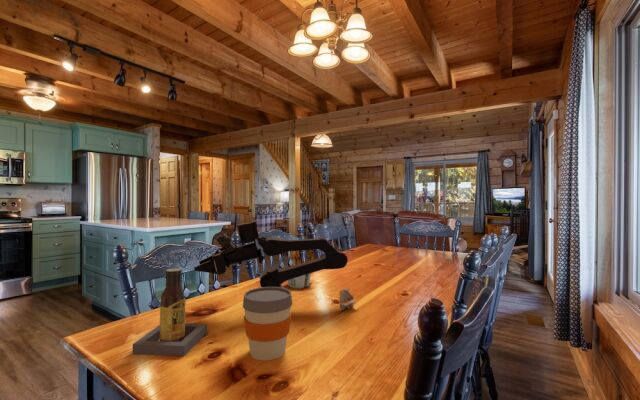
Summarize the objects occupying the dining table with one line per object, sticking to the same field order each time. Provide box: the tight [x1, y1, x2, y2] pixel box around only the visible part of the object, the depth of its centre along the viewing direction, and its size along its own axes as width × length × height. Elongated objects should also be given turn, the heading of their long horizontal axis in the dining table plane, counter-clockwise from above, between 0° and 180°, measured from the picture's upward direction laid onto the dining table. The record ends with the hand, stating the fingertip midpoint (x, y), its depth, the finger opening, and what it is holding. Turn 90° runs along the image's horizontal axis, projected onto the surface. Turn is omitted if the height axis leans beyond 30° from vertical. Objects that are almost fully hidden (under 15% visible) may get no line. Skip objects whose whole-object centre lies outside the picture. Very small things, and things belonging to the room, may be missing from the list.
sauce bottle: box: [159, 268, 187, 342], centre depth 85 cm, size 6×6×20 cm
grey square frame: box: [132, 322, 208, 357], centre depth 85 cm, size 14×14×2 cm
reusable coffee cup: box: [242, 286, 293, 362], centre depth 80 cm, size 13×12×15 cm
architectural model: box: [338, 287, 357, 312], centre depth 110 cm, size 3×7×7 cm, turn 139°
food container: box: [287, 273, 312, 289], centre depth 140 cm, size 12×12×7 cm
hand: (197, 265), depth 105 cm, fingers open, 9 cm apart
